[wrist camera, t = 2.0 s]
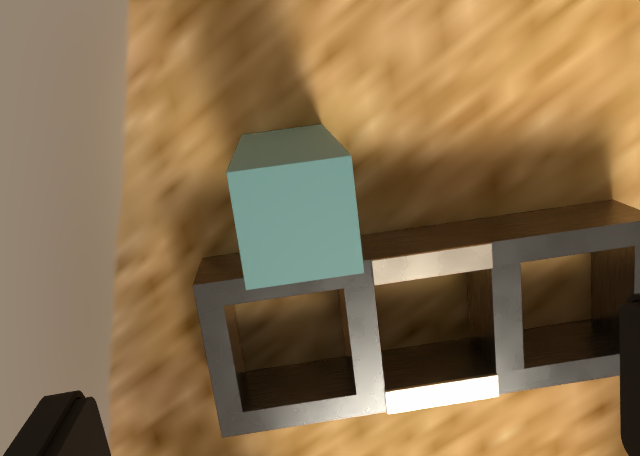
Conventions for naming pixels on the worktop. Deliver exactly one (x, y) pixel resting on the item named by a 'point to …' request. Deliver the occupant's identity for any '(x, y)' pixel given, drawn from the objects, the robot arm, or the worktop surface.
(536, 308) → the worktop surface
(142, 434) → the worktop surface
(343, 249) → the peg
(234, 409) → the rail
